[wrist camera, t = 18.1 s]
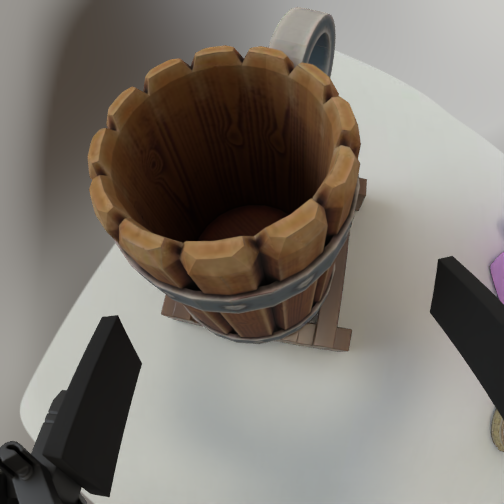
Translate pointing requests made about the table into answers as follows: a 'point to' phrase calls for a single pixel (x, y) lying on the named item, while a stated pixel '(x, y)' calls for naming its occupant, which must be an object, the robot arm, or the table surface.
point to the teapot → (498, 276)
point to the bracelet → (497, 430)
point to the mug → (235, 180)
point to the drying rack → (327, 319)
